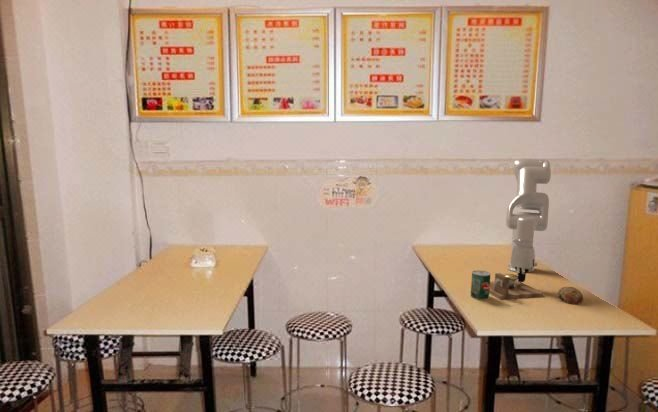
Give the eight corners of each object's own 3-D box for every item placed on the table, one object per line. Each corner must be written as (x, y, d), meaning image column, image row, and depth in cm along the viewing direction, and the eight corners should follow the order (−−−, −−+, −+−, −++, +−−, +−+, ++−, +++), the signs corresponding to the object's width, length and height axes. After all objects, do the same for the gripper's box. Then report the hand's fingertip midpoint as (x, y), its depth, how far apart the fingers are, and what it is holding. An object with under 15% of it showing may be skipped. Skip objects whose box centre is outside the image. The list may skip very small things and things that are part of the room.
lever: (513, 289, 216) (514, 278, 215) (500, 286, 220) (501, 275, 219) (526, 282, 228) (527, 271, 227) (513, 279, 232) (514, 269, 231)
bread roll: (554, 305, 212) (550, 290, 209) (570, 293, 215) (566, 279, 212) (573, 313, 203) (569, 297, 200) (589, 300, 206) (585, 285, 203)
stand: (515, 282, 232) (517, 264, 231) (543, 296, 213) (545, 275, 211) (475, 285, 227) (477, 266, 225) (500, 299, 207) (501, 278, 206)
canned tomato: (488, 300, 206) (490, 276, 204) (469, 298, 208) (471, 274, 207) (489, 295, 213) (490, 271, 211) (471, 292, 216) (472, 269, 214)
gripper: (505, 241, 225) (502, 279, 227) (535, 247, 213) (532, 286, 216) (513, 240, 230) (510, 276, 232) (543, 245, 218) (540, 283, 221)
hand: (521, 281), depth 224 cm, fingers closed
